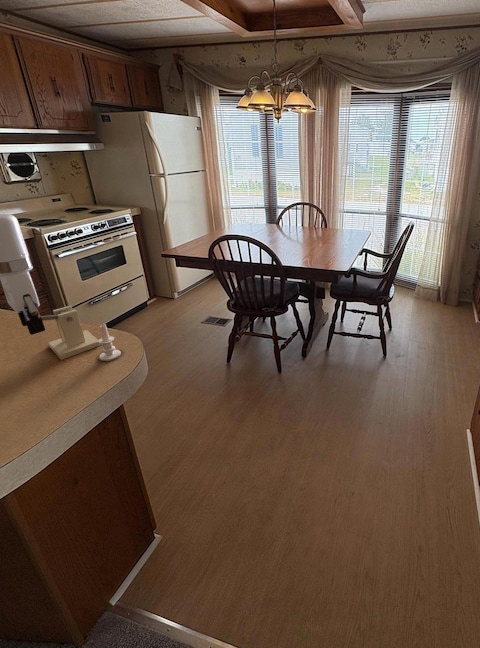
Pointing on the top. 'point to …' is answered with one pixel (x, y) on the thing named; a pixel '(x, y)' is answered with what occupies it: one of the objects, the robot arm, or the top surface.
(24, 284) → the robot arm
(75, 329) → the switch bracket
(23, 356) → the top surface
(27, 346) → the top surface
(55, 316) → the switch lever
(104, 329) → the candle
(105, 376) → the top surface
